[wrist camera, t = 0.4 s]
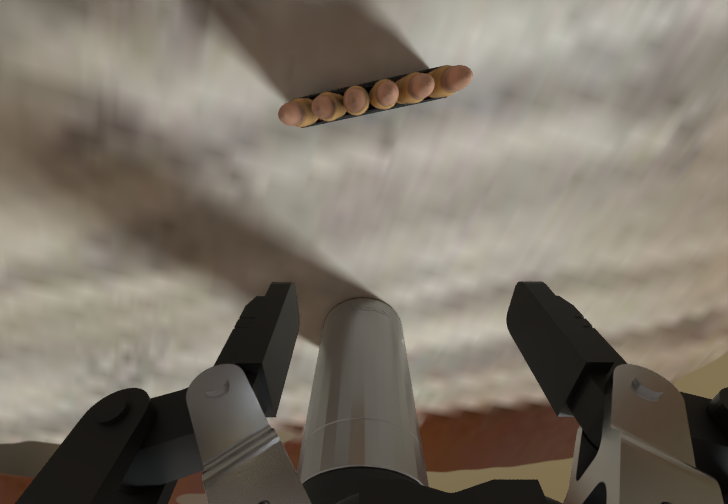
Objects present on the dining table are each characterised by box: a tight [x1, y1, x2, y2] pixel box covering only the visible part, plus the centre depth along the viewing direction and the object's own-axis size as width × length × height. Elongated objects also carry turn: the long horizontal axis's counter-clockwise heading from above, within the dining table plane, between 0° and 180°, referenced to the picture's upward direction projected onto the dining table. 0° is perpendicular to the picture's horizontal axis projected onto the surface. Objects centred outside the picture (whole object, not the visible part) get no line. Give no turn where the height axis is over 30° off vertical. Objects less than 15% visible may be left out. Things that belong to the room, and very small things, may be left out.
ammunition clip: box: [278, 65, 473, 128], centre depth 19 cm, size 11×2×12 cm, turn 101°
